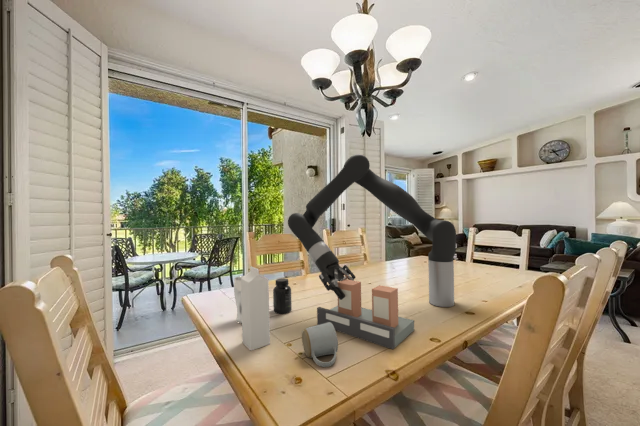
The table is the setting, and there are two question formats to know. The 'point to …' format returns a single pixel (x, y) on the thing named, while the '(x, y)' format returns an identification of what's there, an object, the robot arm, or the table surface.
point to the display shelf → (366, 326)
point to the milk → (255, 310)
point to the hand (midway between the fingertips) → (350, 294)
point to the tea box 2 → (385, 305)
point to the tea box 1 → (350, 298)
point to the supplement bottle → (282, 297)
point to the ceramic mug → (320, 342)
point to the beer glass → (238, 298)
